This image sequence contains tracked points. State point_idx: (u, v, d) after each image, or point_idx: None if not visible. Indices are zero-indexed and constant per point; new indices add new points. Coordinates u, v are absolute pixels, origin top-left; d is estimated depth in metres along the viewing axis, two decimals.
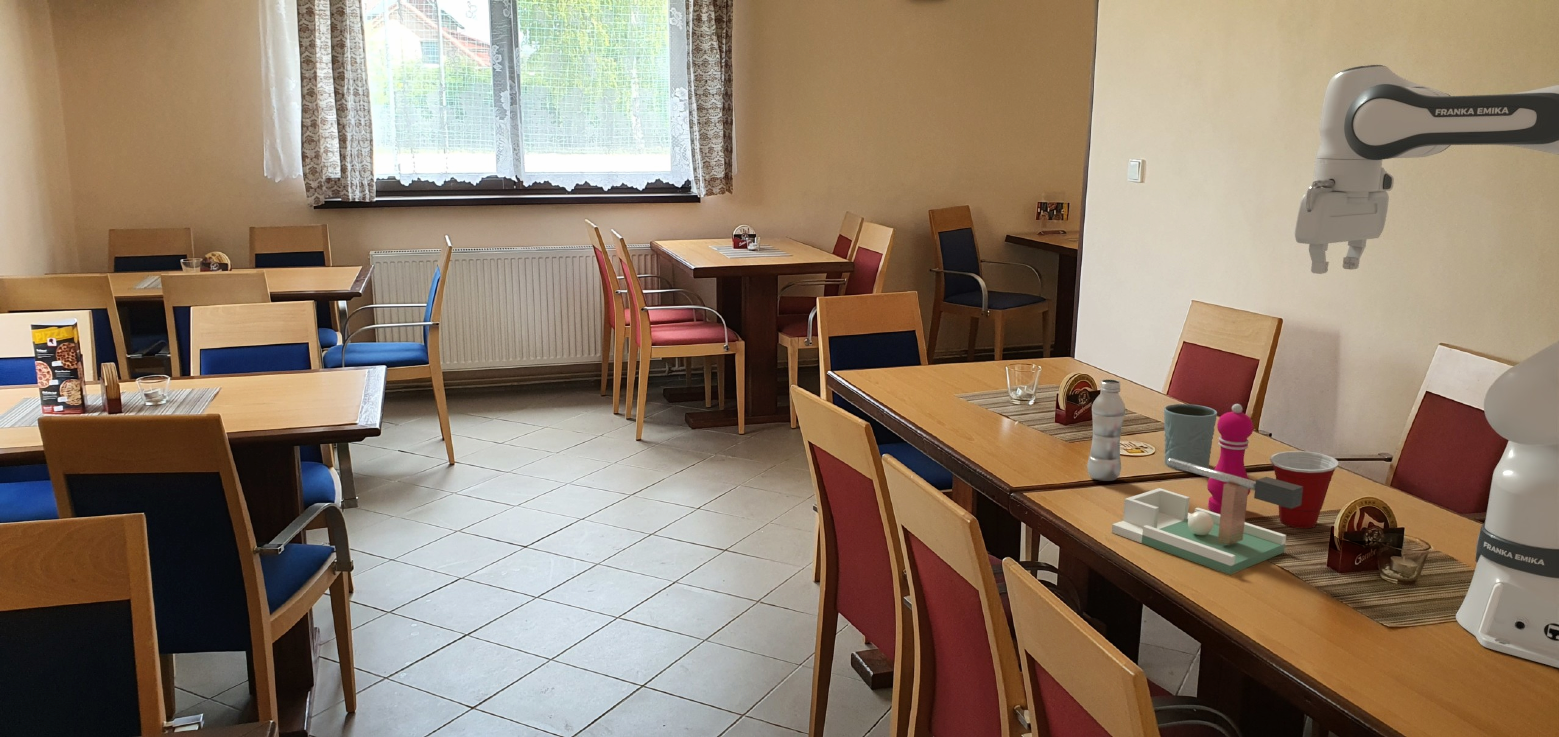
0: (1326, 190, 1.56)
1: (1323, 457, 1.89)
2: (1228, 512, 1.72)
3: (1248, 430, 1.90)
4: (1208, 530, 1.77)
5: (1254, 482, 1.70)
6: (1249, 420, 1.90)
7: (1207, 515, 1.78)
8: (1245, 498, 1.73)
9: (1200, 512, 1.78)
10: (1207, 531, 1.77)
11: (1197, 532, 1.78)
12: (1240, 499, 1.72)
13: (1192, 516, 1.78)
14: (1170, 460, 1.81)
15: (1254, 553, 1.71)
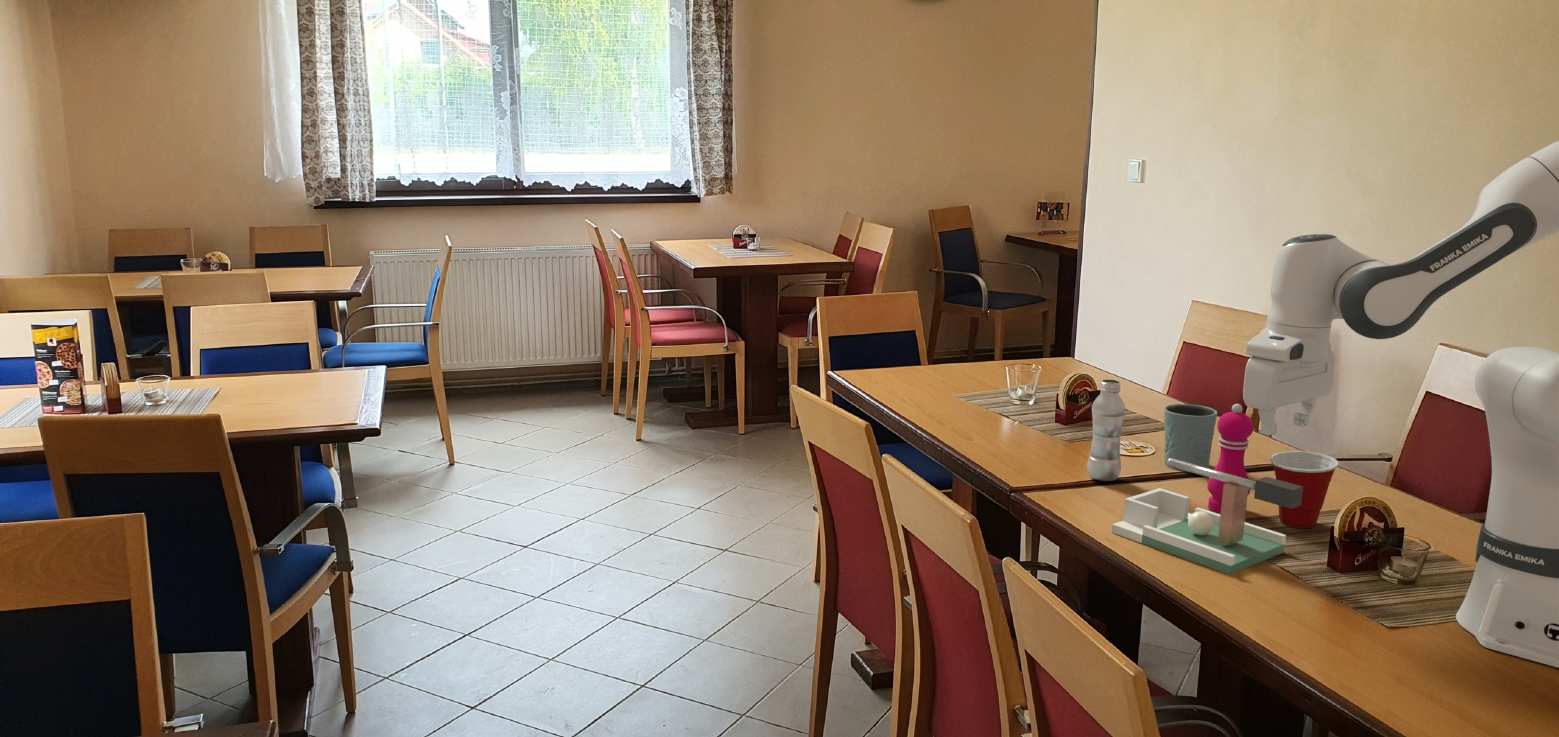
0: None
1: (1323, 457, 1.89)
2: (1228, 512, 1.72)
3: (1248, 430, 1.90)
4: (1208, 530, 1.77)
5: (1254, 482, 1.70)
6: (1249, 420, 1.90)
7: (1207, 515, 1.78)
8: (1245, 498, 1.73)
9: (1200, 512, 1.78)
10: (1207, 531, 1.77)
11: (1197, 532, 1.78)
12: (1240, 499, 1.72)
13: (1192, 516, 1.78)
14: (1170, 460, 1.81)
15: (1254, 553, 1.71)
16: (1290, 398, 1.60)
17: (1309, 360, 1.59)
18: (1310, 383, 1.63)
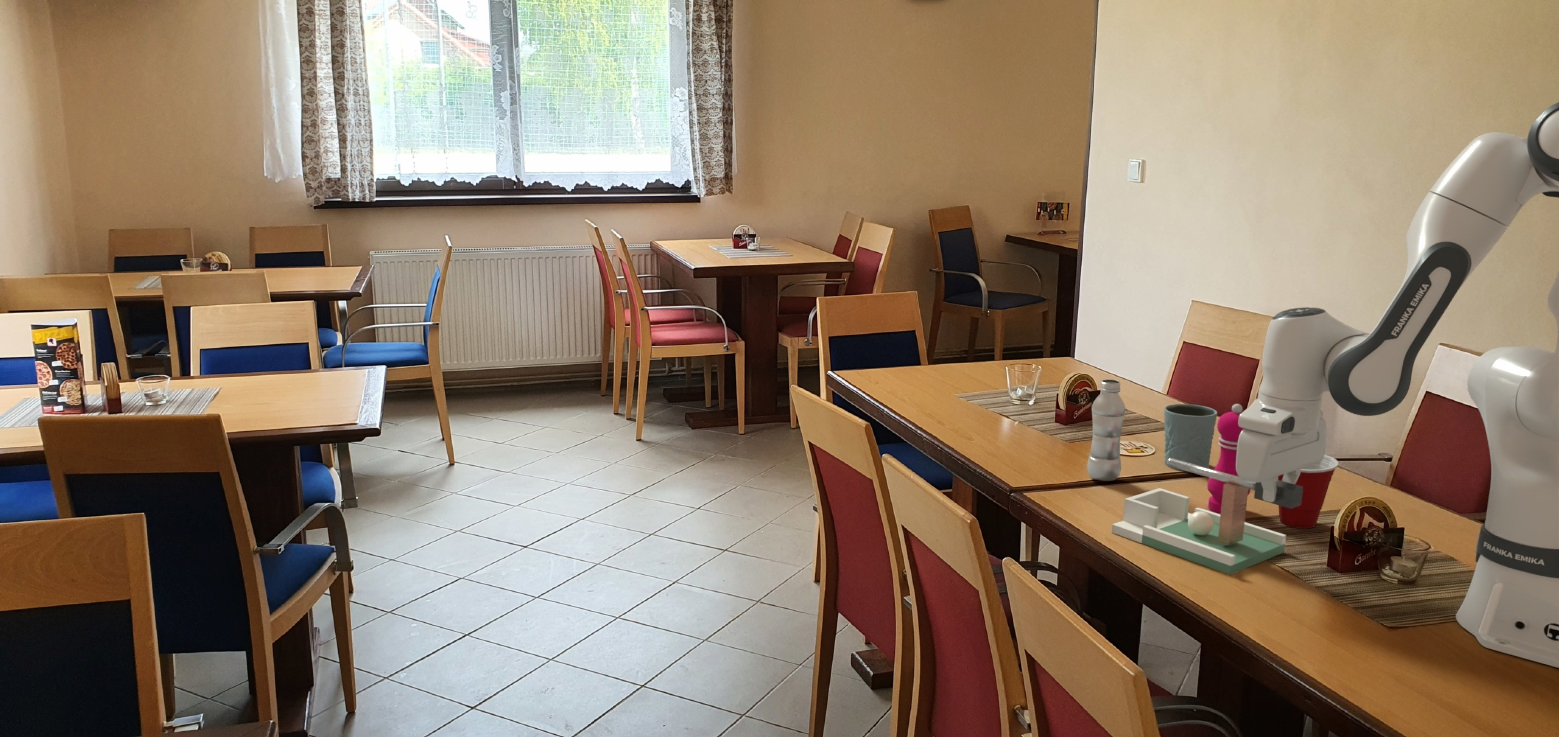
0: None
1: (1323, 457, 1.89)
2: (1228, 512, 1.72)
3: None
4: (1208, 530, 1.77)
5: (1254, 482, 1.70)
6: None
7: (1207, 515, 1.78)
8: (1245, 498, 1.73)
9: (1200, 512, 1.78)
10: (1207, 531, 1.77)
11: (1197, 532, 1.78)
12: (1240, 499, 1.72)
13: (1192, 516, 1.78)
14: (1170, 460, 1.81)
15: (1254, 553, 1.71)
16: (1283, 469, 1.63)
17: (1301, 431, 1.62)
18: (1302, 452, 1.65)
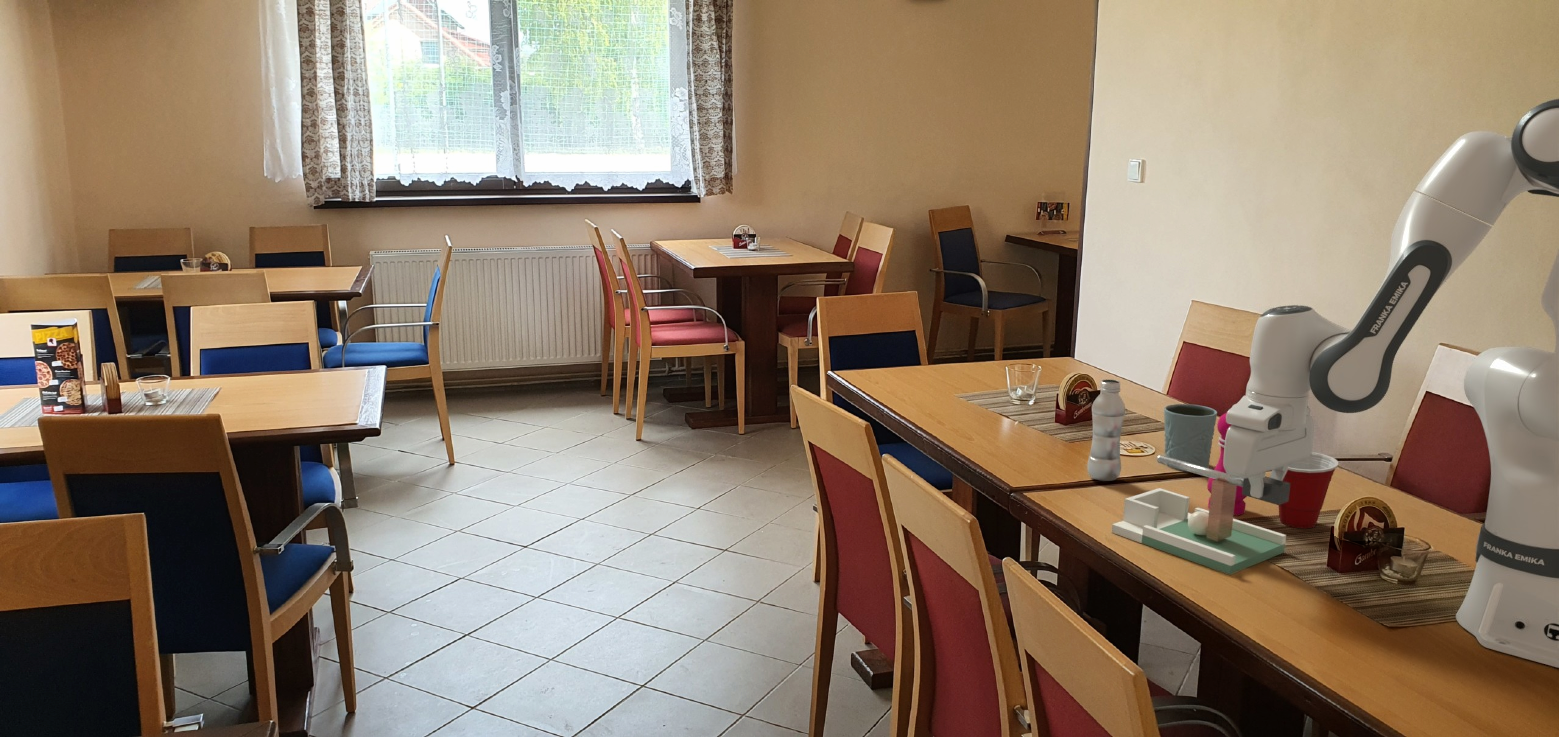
0: None
1: (1323, 457, 1.89)
2: (1217, 508, 1.74)
3: None
4: None
5: (1242, 479, 1.71)
6: None
7: (1207, 515, 1.78)
8: (1233, 494, 1.75)
9: (1200, 512, 1.78)
10: None
11: (1197, 532, 1.78)
12: (1228, 495, 1.74)
13: (1192, 516, 1.78)
14: (1159, 457, 1.83)
15: (1254, 553, 1.71)
16: (1270, 465, 1.64)
17: (1288, 428, 1.63)
18: (1289, 448, 1.67)
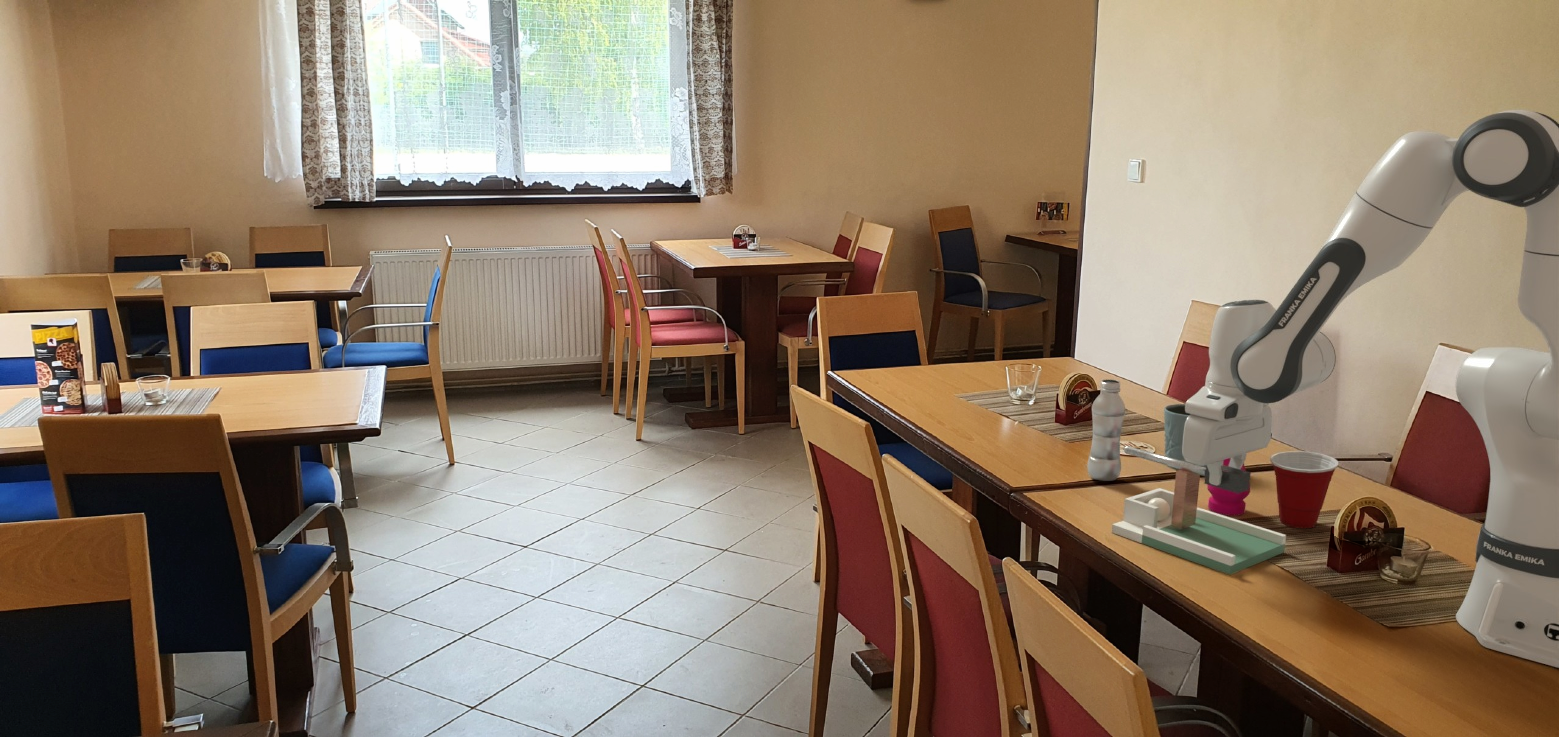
0: None
1: (1323, 457, 1.89)
2: (1180, 497, 1.79)
3: None
4: None
5: (1205, 468, 1.77)
6: None
7: None
8: (1197, 484, 1.80)
9: (1163, 519, 1.84)
10: None
11: None
12: (1192, 484, 1.79)
13: (1160, 514, 1.83)
14: (1126, 448, 1.88)
15: (1254, 553, 1.71)
16: (1228, 453, 1.70)
17: (1244, 417, 1.69)
18: (1247, 437, 1.73)
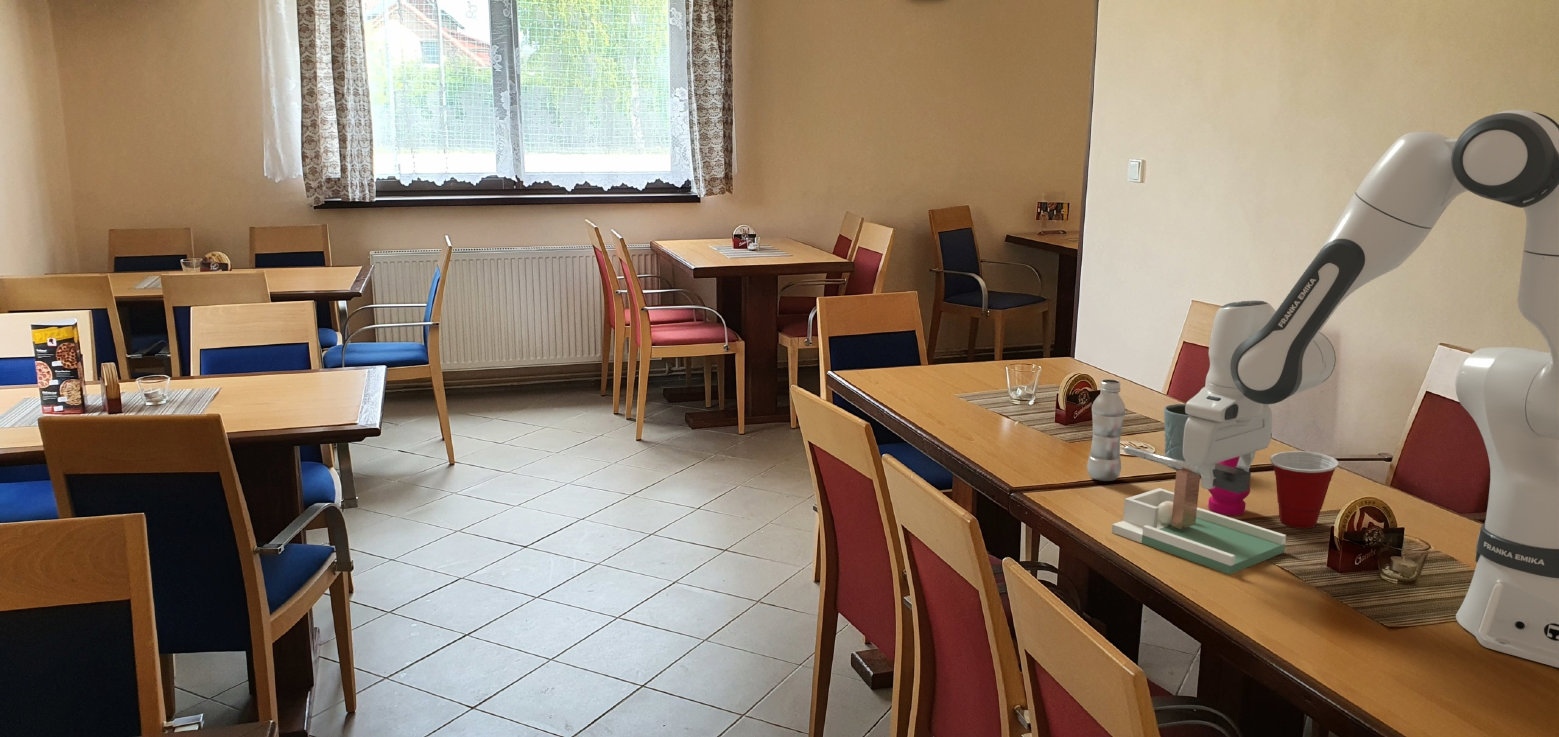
0: None
1: (1323, 457, 1.89)
2: (1181, 497, 1.79)
3: None
4: (1158, 505, 1.84)
5: None
6: None
7: None
8: (1197, 484, 1.80)
9: None
10: (1159, 504, 1.84)
11: (1162, 507, 1.83)
12: (1192, 484, 1.79)
13: (1165, 522, 1.83)
14: (1127, 448, 1.88)
15: (1254, 553, 1.71)
16: (1228, 454, 1.70)
17: (1245, 418, 1.69)
18: (1247, 438, 1.73)
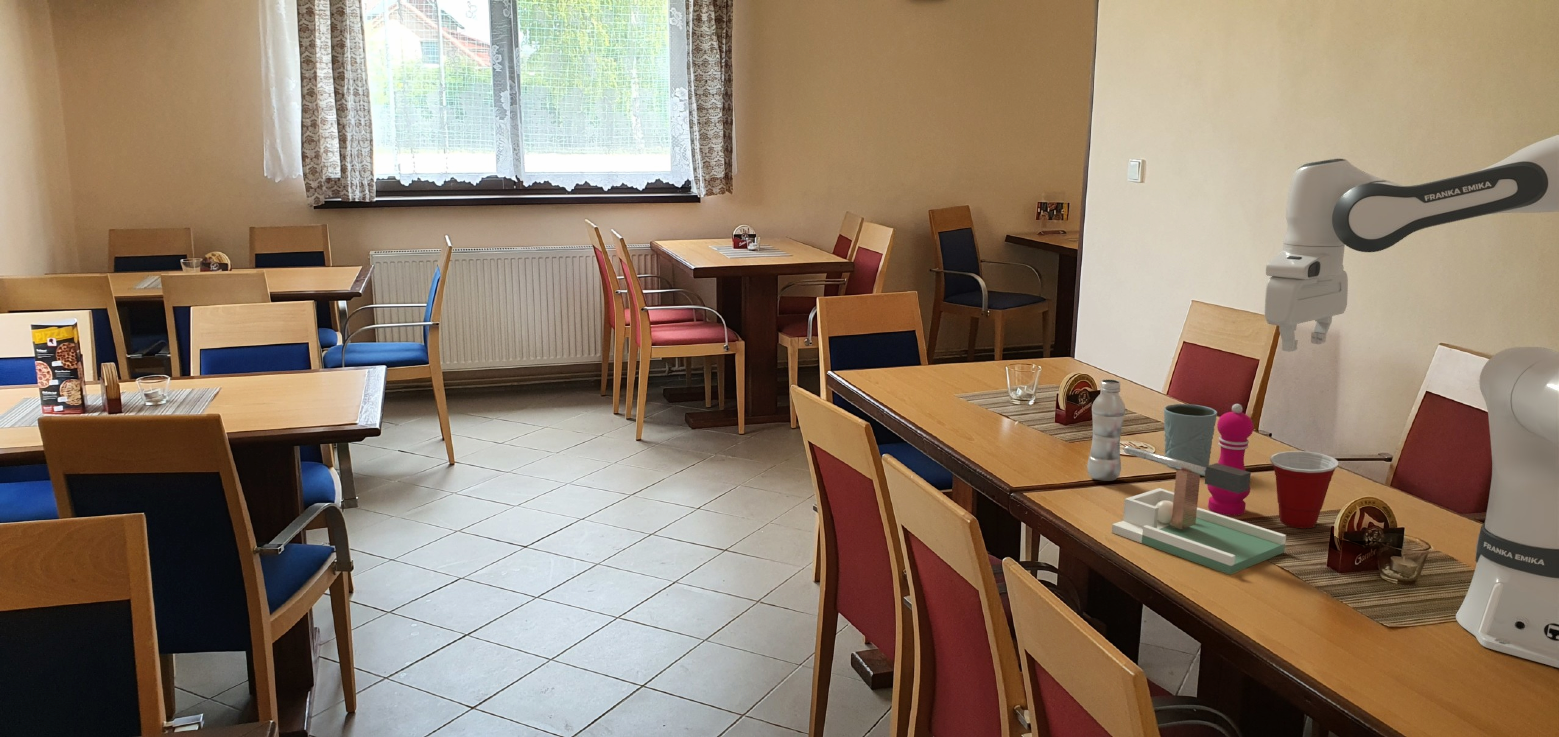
0: None
1: (1323, 457, 1.89)
2: (1181, 497, 1.79)
3: (1248, 430, 1.90)
4: None
5: (1205, 468, 1.76)
6: (1249, 420, 1.90)
7: None
8: (1197, 484, 1.80)
9: None
10: None
11: (1158, 506, 1.83)
12: (1192, 484, 1.79)
13: (1164, 521, 1.83)
14: (1127, 448, 1.88)
15: (1254, 553, 1.71)
16: (1309, 316, 1.70)
17: (1325, 278, 1.69)
18: (1326, 301, 1.72)
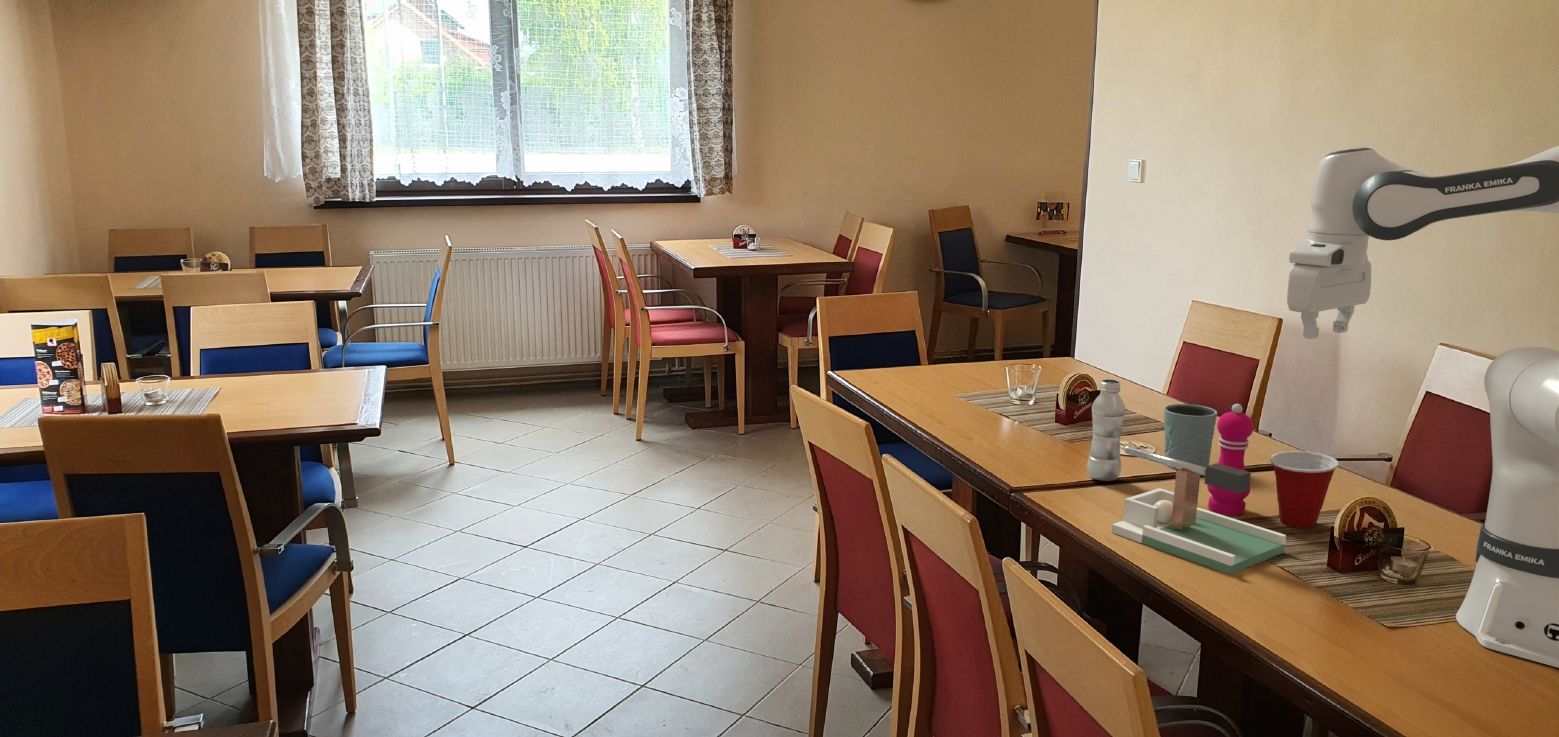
0: None
1: (1323, 457, 1.89)
2: (1181, 497, 1.79)
3: (1248, 430, 1.90)
4: None
5: (1205, 468, 1.76)
6: (1249, 420, 1.90)
7: None
8: (1197, 484, 1.80)
9: None
10: None
11: (1156, 506, 1.84)
12: (1192, 484, 1.79)
13: (1164, 520, 1.83)
14: (1127, 448, 1.88)
15: (1254, 553, 1.71)
16: (1331, 303, 1.71)
17: (1349, 267, 1.70)
18: (1349, 290, 1.73)
